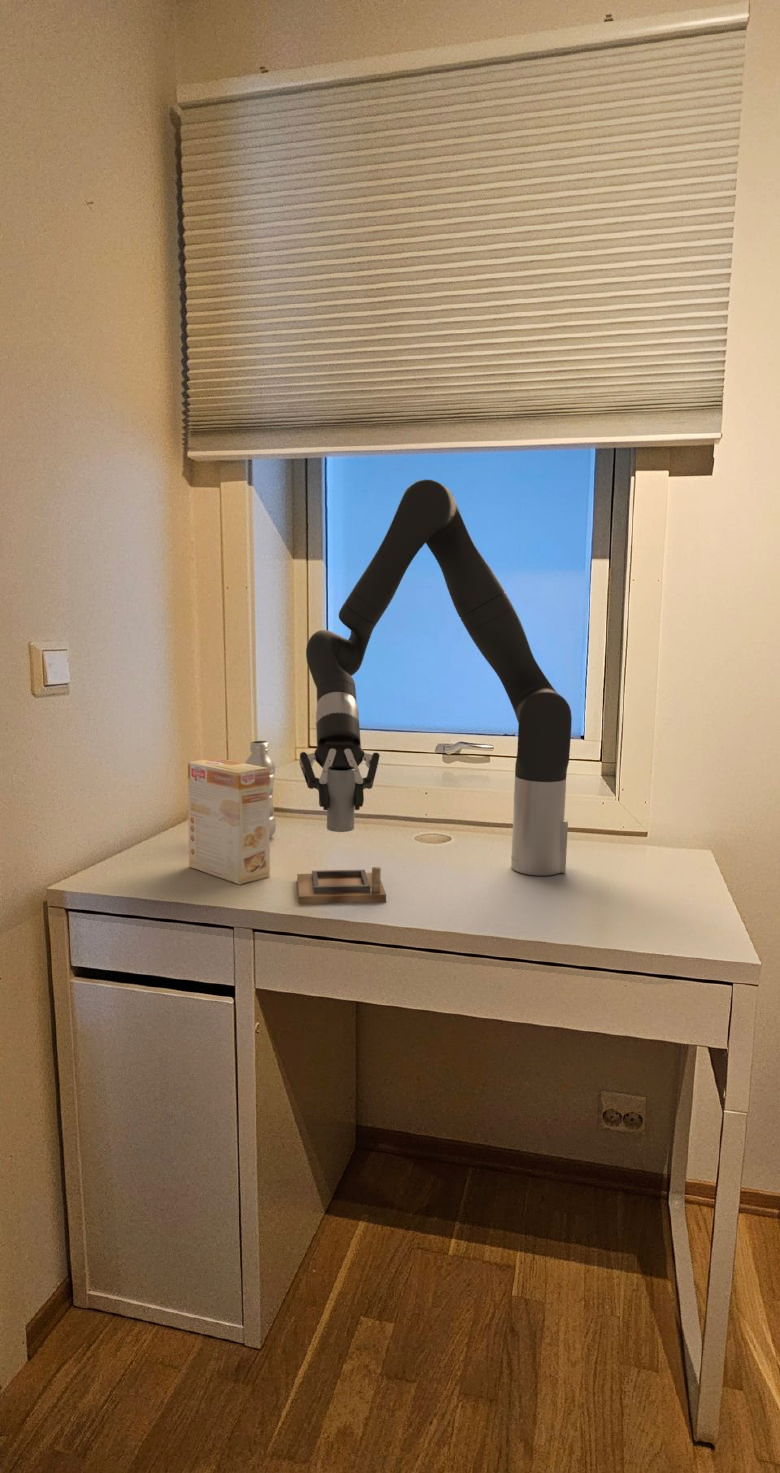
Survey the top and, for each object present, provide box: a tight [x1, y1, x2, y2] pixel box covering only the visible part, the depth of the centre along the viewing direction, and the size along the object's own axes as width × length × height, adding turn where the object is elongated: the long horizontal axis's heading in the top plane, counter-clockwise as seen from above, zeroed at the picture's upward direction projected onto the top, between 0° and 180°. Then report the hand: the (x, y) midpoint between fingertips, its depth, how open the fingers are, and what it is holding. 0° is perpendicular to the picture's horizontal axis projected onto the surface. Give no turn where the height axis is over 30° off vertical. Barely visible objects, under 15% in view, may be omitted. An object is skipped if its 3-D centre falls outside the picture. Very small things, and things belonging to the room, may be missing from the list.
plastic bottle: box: [244, 740, 277, 838], centre depth 173 cm, size 6×7×20 cm
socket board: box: [296, 866, 387, 905], centre depth 141 cm, size 14×12×5 cm
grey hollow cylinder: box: [326, 765, 356, 833], centre depth 140 cm, size 4×4×10 cm
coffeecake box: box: [187, 757, 271, 885], centre depth 150 cm, size 15×7×20 cm, turn 48°
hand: (341, 807), depth 138 cm, fingers closed on grey hollow cylinder, 4 cm apart
